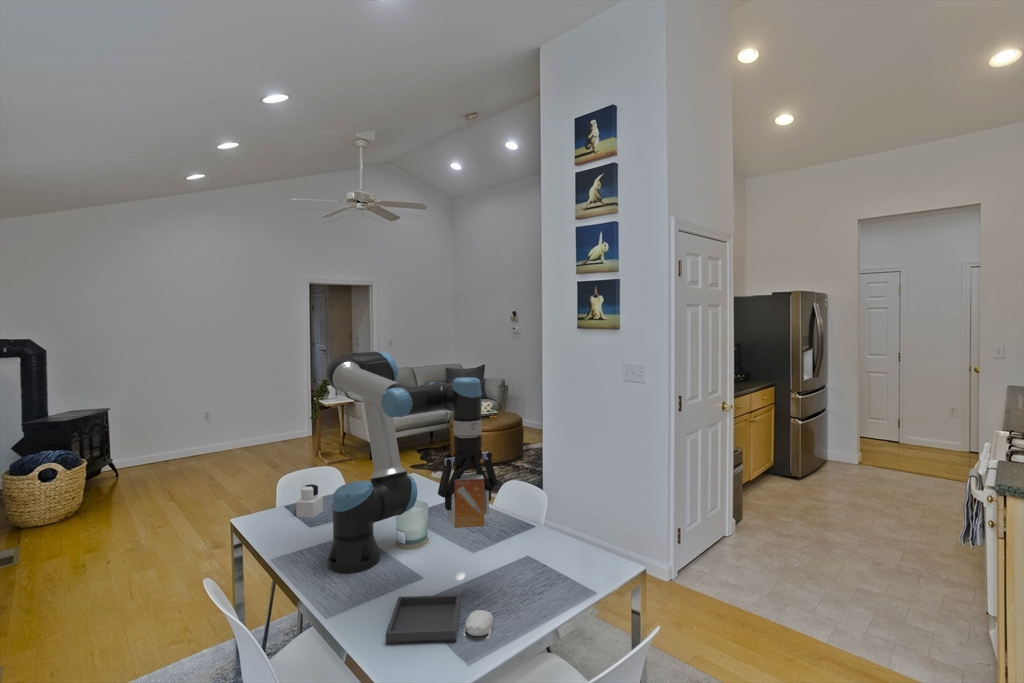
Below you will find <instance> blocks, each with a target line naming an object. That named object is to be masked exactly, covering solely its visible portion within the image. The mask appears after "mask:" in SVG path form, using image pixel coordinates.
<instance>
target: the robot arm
mask: <svg viewBox="0 0 1024 683" xmlns="http://www.w3.org/2000/svg"><path fill="white" fill-rule="evenodd" d="M398 375H399V369H398V366H397V363H396V361H395V358H393V356H392V355H391V354H389V353H388V352H385V351H376V350H375V351H366V352H365V351H364V352H346V353H342V354H339V355H337V356H335V357H334V358H333V359H331V360H330V362H329V363H328V364H327V367H326V369H325V378H326V380H327V383H328V384H329V386H331V388H333V389H335V390H337V391H339V392H342V393H349V392H350V393H352V394H354V395H357V396H359V397H361V398H362V400H363V406H364V412H365V420H366V425H367V427H366V428H367V432H368V438H369V439H368V440H369V445H370V452H371V460H372V466H373V473H372V475H371V476H370V477H369V478H370V481H369V480H358V481H350V482H347V483H345V484H343V485H341V486H339V487H338V488H337V489H336V490H335V491H334V492H333V493H332V494H333V495H332V503H331V509H332V531H333V532H332V534H333V535H332V536H333V538H332V539H333V540H332V544H331V546H330V550H329V552H328V557H327V568H328V567H329V568H328V569H329V571H331V570H332V571H331V572H333V571H334V572H333V573H336V572H338V573H337V574H344V575H345V574H355V573H360V572H364V571H367V570H369V569H372V568H373V567H374V566H376V565H377V564H378V563H379V562H380V559H381V558H380V556H381V555H380V554H381V553H380V548H379V546H378V542H377V540H376V538H375V537H376V536H375V534H374V523H377V522H381V521H385V520H387V519H390V518H393V517H396V516H402V515H403V514H405V513H407V512H406V511H408V510H410V509H411V508H412V509H413V508H414V507H415V504H416V502H417V499H418V486H417V482H416V481H415V478H414V477H413V476H412V475H410V474H408V472H407V469H406V468H404V466H402V463H401V458H400V452H399V446H398V440H397V438H398V437H397V433H396V428H395V427H396V426H395V421H394V418H403V417H407V416H415V415H419V414H427V413H431V412H438V411H439V412H440V411H449V412H453V435H454V437H453V450H454V453H453V455H452V457H448V458H447V457H444V458H443V459H442V463H443V468H442V473H441V477H440V481H439V486H438V489H437V495H438V496H440V497H441V498H443V499H444V508H445V510H447V520H448V522H450V523H451V524H454V523H455V498H454V497H453V493H454V491H455V483H454V482H455V481H454V480H458V479H460V478H461V475H462V474H463V473H465V472H466V471H469V470H474V472H475V473H478V474H480V475H483V477H484V515H487V516H488V515H490V502H491V500H492V492H493V490H494V487H497V486H498V480H497V476H496V473H495V469H494V465H493V460H492V459H493V458H492V457H493V453H492V452H490V451H487V450H485V451H482V449H483V448H482V447H483V446H482V443H483V442H482V439H483V438H482V435H481V434H482V395H483V392H482V386H481V381H480V379H479V378H477V377H466V376H465V377H456V378H454V379H453V381H452V383H447V382H446V383H445V382H442V381H438V382H437V381H436V382H430V383H428V384H424V385H412V386H409V385H408V386H407V385H405V384H402V383H399V382H397V380H398ZM481 460H483V464H484V468H485V471H486V473H485V472H484V470H483V466H482V465H481V463H480V462H481ZM454 463H455V466H454ZM453 466H454V468H453ZM452 468H453V473H452ZM486 474H487V475H486ZM412 509H411V510H412ZM411 510H410V511H411ZM404 512H405V513H404ZM408 512H409V511H408Z"/></svg>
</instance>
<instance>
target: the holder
mask: <svg viewBox="0 0 1024 683" xmlns="http://www.w3.org/2000/svg"><path fill="white" fill-rule="evenodd" d="M460 608H461V595H460V594H439V595H416V596H415V595H412V596H411V595H410V596H407V595H406V596H398V598H397V600H396V603H395V606H394V608H393V611H392V613H391V614H392V615H391V617H390V620H389V623H388V625H387V628H386V631H385V645H407V644H408V645H409V644H436V643H439V644H440V643H456V642H457V634H458V624H459V619H460V618H459V616H460Z"/></svg>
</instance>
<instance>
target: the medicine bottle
mask: <svg viewBox="0 0 1024 683" xmlns="http://www.w3.org/2000/svg"><path fill="white" fill-rule="evenodd" d="M295 510H296V511H295V513H296V517H298V518H313V519H314V518H315V517H317V516H318V515H319V514H320V515H321V513H322V512H324V496H322V495H319V486H318V485H316V484H307V485H306V484H305V485H303V486H302V487H301V488H300V499H298V500H296V502H295Z"/></svg>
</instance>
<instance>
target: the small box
mask: <svg viewBox="0 0 1024 683" xmlns="http://www.w3.org/2000/svg"><path fill="white" fill-rule="evenodd" d="M454 481H455V482H454V483H455V491H454V493H453V496H452V497H454V498H455V523H453V524H454V528H455V529H459V528H463V529H464V528H476V527H477V528H478V527H482V528H483V527H485V514H484V489H485V488H484V477H483V475H480V474H478V473H476V472H464V473H463V474H462V475H461V478H460V479H458V480H454Z"/></svg>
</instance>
